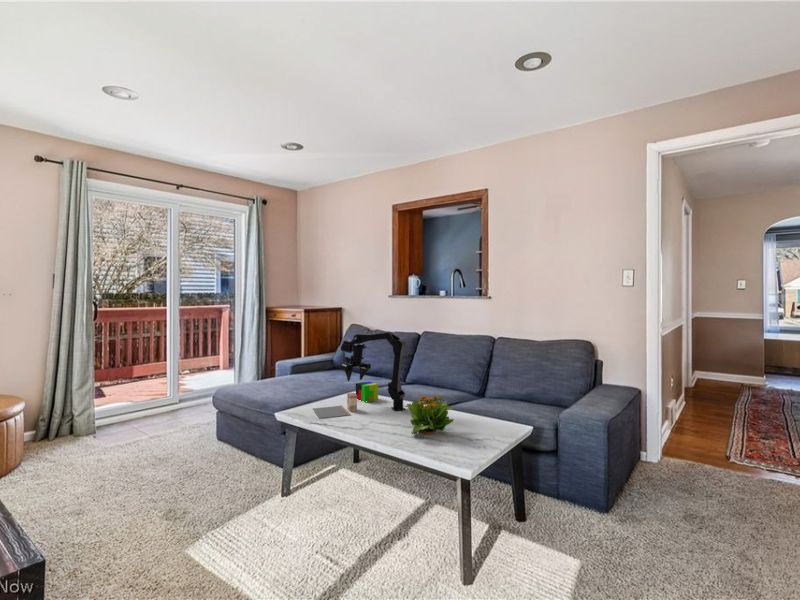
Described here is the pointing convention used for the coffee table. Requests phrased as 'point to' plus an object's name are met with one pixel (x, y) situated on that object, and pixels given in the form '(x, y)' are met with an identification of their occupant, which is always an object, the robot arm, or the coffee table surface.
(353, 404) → the maple block
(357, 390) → the puzzle toy
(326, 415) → the mat
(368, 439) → the coffee table surface
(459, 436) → the coffee table surface
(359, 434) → the coffee table surface
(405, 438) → the coffee table surface
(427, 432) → the potted flower
